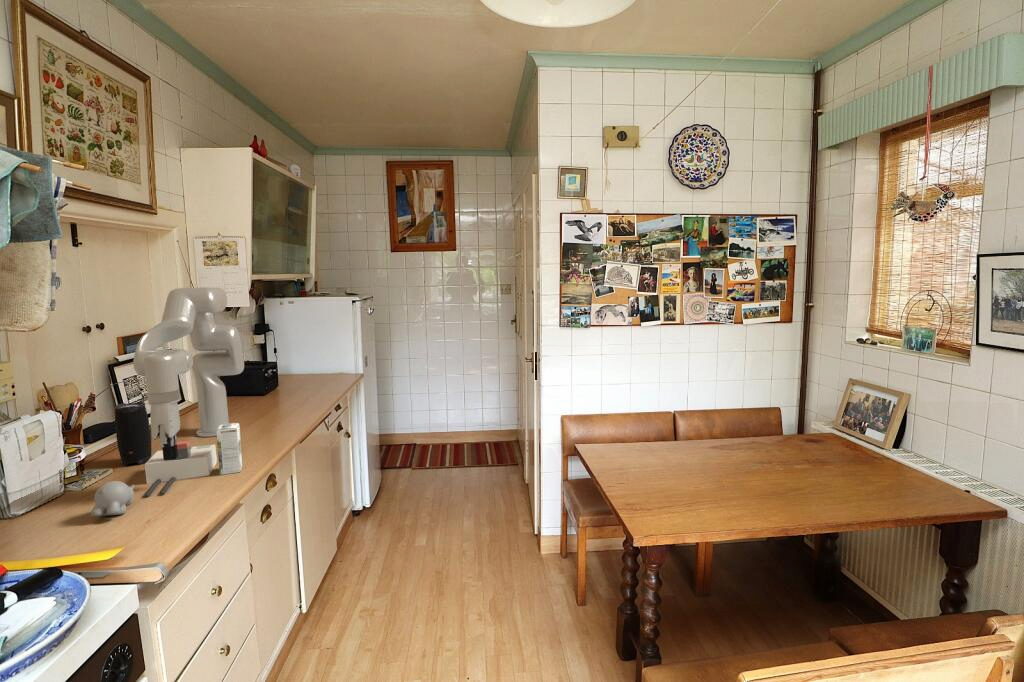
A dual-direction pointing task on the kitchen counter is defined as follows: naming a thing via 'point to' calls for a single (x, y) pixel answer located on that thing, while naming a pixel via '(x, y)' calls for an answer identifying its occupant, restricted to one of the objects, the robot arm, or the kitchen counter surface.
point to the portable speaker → (133, 433)
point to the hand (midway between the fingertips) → (171, 458)
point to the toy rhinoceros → (112, 499)
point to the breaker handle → (183, 449)
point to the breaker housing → (181, 465)
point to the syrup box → (229, 448)
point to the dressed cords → (157, 485)
